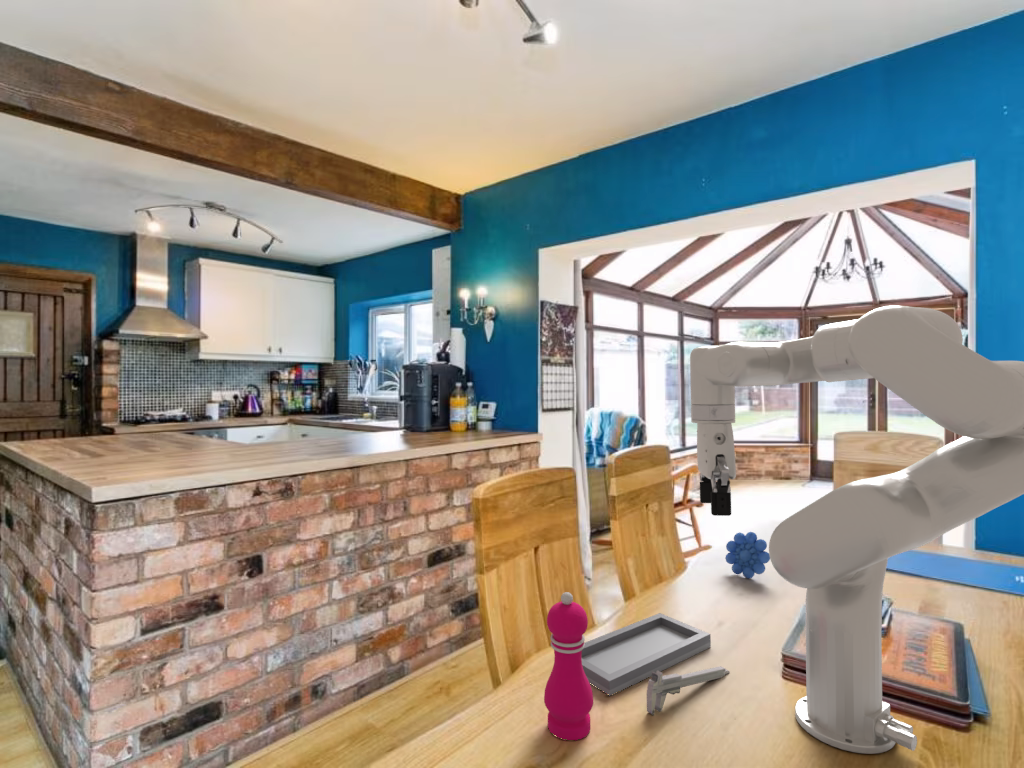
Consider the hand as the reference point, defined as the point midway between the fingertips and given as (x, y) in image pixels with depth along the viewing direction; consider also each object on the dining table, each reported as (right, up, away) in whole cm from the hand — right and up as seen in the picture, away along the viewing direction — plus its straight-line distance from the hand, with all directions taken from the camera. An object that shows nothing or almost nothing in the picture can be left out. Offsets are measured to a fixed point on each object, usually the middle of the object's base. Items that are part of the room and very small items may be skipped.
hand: (714, 508), depth 101 cm
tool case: (-14, -28, +2) cm, 31 cm away
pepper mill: (-28, -28, -19) cm, 44 cm away
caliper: (-8, -28, -10) cm, 31 cm away
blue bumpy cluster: (+24, -27, +41) cm, 54 cm away
